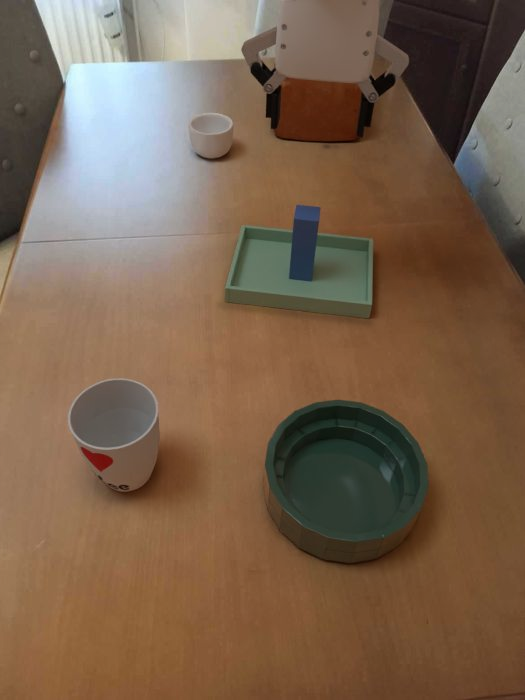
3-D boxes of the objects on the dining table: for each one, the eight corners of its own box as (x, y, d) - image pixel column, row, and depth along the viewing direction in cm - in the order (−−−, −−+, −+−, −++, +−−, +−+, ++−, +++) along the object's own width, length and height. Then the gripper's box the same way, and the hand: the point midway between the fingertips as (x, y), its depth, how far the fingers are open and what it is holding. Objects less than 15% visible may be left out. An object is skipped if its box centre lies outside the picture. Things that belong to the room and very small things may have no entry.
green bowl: (413, 437, 66) (424, 410, 62) (420, 575, 55) (432, 552, 52) (273, 419, 67) (275, 391, 63) (253, 551, 57) (254, 527, 53)
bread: (353, 86, 126) (363, 9, 115) (362, 144, 110) (376, 61, 99) (272, 83, 126) (275, 6, 115) (269, 140, 110) (273, 56, 99)
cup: (73, 464, 62) (52, 406, 55) (140, 424, 66) (128, 365, 59) (114, 520, 58) (96, 465, 51) (182, 475, 62) (175, 417, 55)
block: (313, 267, 85) (320, 206, 77) (311, 281, 82) (319, 221, 75) (291, 264, 85) (296, 204, 77) (288, 279, 83) (293, 218, 75)
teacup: (233, 164, 104) (233, 134, 100) (188, 163, 103) (186, 134, 99) (233, 135, 110) (233, 107, 106) (192, 135, 110) (190, 106, 106)
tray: (370, 252, 88) (373, 238, 86) (369, 318, 79) (372, 304, 77) (241, 238, 89) (242, 224, 88) (225, 302, 80) (224, 288, 78)
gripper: (427, -53, 57) (393, 119, 70) (248, -66, 58) (247, 106, 71) (431, -30, 52) (394, 151, 65) (235, -44, 53) (236, 136, 66)
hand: (317, 127), depth 68 cm, fingers open, 9 cm apart
